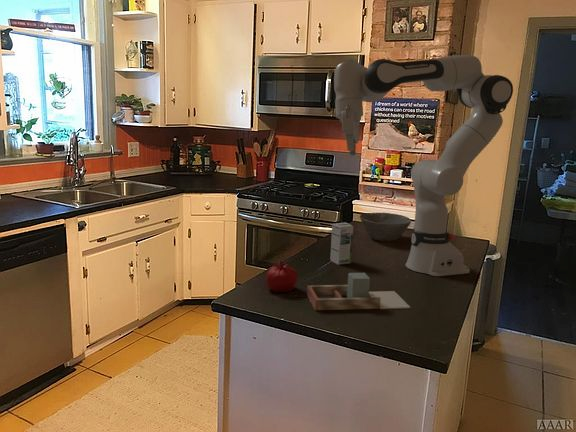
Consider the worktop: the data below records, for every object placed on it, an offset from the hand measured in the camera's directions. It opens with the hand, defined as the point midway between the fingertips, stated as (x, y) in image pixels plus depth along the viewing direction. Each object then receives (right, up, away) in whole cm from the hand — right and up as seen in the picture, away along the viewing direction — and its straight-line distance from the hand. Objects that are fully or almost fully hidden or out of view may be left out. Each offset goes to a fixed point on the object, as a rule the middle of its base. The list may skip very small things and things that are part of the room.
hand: (351, 153), depth 156 cm
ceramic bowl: (+21, -31, +57) cm, 69 cm away
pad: (+9, -46, -12) cm, 48 cm away
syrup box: (-1, -38, +23) cm, 44 cm away
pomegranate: (-23, -43, -6) cm, 49 cm away
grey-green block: (0, -46, -13) cm, 48 cm away
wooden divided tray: (-4, -46, -14) cm, 48 cm away
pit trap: (-10, -46, -15) cm, 49 cm away
